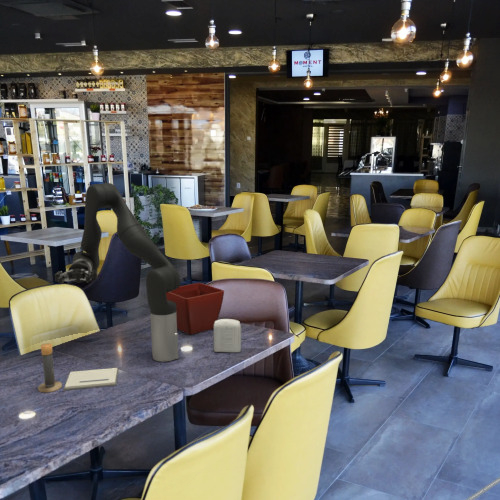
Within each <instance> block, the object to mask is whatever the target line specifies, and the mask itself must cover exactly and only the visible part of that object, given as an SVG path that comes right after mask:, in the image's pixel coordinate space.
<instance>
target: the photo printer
mask: <svg viewBox="0 0 500 500" xmlns="http://www.w3.org/2000/svg"><path fill="white" fill-rule="evenodd" d="M240 323H241V322H240V321H239V320H237V319H234V318H233V319H231V318H221V319H218V320H217V321H215V324H214V329H213V351H214V352H216V353H240V352H241V351H242V326H241V324H240Z"/></svg>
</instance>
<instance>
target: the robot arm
mask: <svg viewBox="0 0 500 500" xmlns="http://www.w3.org/2000/svg"><path fill="white" fill-rule="evenodd" d="M105 208H110V209H111V210H112V212H113V213H114V215H115V217H116V233H117V236H118V239H119V240H120V242H121V243H122V244H123V246H124V247H125V249H126V250H127V251H129V253H131V254H132V255H134V256H135V257H137V258H139V259H140V260H142V261H144V262H146V264H148V265H149V266H150V267H151V268H152V269H151V270H149V271H148V272H147V274H146V277H145V286H146V287H145V288H146V296H147V297H146V298H147V305H148V307H149V312H150V329H151V333H150V334H151V354H152V359H153V360H154V361H155V362H162V363H163V362H171V361H174V360H178V359H179V333H178V329H177V312H176V304H175V303H174V302H173V301H168V300H167V297H166V293H167V292H171V291H174V290H176V289H177V288H179V286H181V277H180V273H179V272H178V270H177V268H175V266H174V265H173V263H171V262H170V261H169V260H168V258H166V256H165V255H164V254H163V253H162V252H161V250H160V249H159V248H158V247H157V245H156V244H155V243H154V241H153V239H151V237H150V236H149V234H148V233H147V231H146V230H145V229H144V227H143V226H142V225H141V223H140V222H139V221H138V220H137V218H136V217H135V215H134V214H133V212H132V211H131V209H130V208H129V206H128V205H127V203H126V201H125V200H124V197H123V196H122V194H121V193H120V191H119V190H118V188H117V187H116V186H115V184H113V183H112V182H111V183H110V182H102V183H94V184H91V185H88V187H87V189H86V193H85V200H84V224H83V226H84V227H83V228H84V229H83V232H82V237H81V241H80V249H81V251H77V252H75V253H74V255H73V258H72V263H71V265H70V266H69V267H68V270H67V271H64V272H63V271H62V270H59V271H57V272H56V273H55V274H54V281H55V283H56V282H58V283H59V284H61V285H62V284H64V282H72V281H73V282H75V283H83V282H85V283H89V282H91V281H92V280H95V281H96V280H98V276H99V275H98V269H99V267H100V261H101V260H100V253H99V250H100V249H99V248H100V244H101V240H102V234H103V233H102V228H101V225H100V223H99V222H98V219H97V215H98V212H99V209H105Z"/></svg>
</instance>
